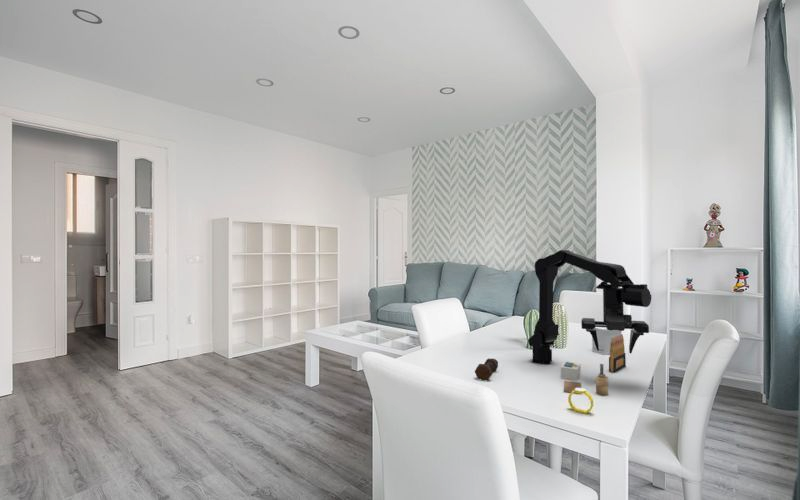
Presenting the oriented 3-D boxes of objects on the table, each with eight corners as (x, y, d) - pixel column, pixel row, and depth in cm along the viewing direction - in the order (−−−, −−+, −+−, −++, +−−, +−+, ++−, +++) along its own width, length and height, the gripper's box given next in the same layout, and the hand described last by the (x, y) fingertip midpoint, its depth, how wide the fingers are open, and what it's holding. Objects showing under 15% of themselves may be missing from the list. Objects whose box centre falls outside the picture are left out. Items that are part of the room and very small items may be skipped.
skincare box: (608, 348, 166) (608, 324, 166) (622, 352, 160) (622, 326, 160) (591, 351, 162) (591, 326, 162) (605, 355, 156) (604, 329, 156)
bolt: (496, 373, 140) (485, 384, 127) (484, 364, 143) (472, 375, 129) (504, 360, 139) (493, 370, 126) (492, 351, 141) (480, 361, 128)
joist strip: (563, 392, 116) (563, 391, 116) (565, 368, 139) (565, 367, 139) (581, 394, 114) (581, 393, 114) (580, 370, 137) (580, 369, 137)
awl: (596, 394, 114) (596, 365, 114) (595, 391, 117) (595, 362, 117) (608, 396, 113) (608, 366, 113) (607, 392, 115) (607, 363, 115)
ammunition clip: (614, 373, 133) (614, 338, 133) (608, 372, 135) (608, 337, 135) (625, 366, 140) (625, 334, 140) (620, 365, 142) (620, 333, 142)
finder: (561, 379, 128) (560, 365, 128) (565, 373, 134) (564, 360, 134) (577, 381, 126) (577, 368, 126) (580, 375, 132) (580, 362, 132)
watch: (568, 411, 103) (566, 389, 104) (571, 408, 105) (569, 386, 106) (592, 415, 100) (590, 392, 100) (594, 412, 102) (592, 389, 102)
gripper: (581, 305, 121) (582, 355, 121) (651, 308, 113) (652, 361, 113) (581, 301, 131) (581, 347, 131) (645, 303, 123) (646, 352, 123)
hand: (613, 351), depth 124 cm, fingers open, 9 cm apart
